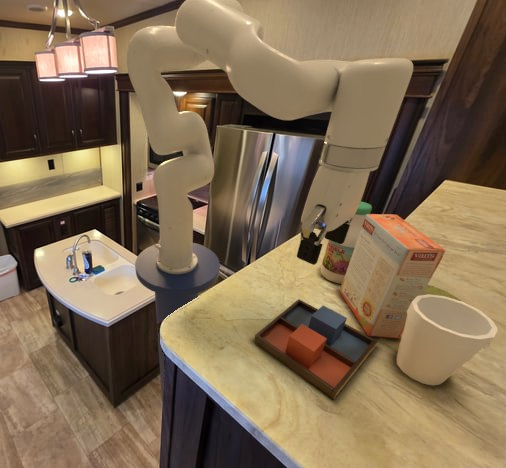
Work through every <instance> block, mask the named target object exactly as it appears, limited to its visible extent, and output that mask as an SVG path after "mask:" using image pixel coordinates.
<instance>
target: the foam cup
mask: <svg viewBox="0 0 506 468" xmlns="http://www.w3.org/2000/svg"><path fill="white" fill-rule="evenodd" d="M498 331H499V329H498V327H497V326H496V324H495V322H494V320H493V319H492V318H490V317H489V316H488V315H487V314H485V313H484V312H483V311H481V310H480V309H478V308H476V307H474V306H472V305H470V304H468V303H466V302H463V301H462V300H460V301H458V300H455V299H452V298H448V297H445V296H438V295H430V294H427V295H421V296H417V297H416V298H415V299H414V300H413V301H412V302H411V304H410V306H409V308H408V310H407V319H406V323H405V327H404V330H403V332H402V334H401V337H400V342H399V345H398V349H397V354H396V358H395V361H396V365H397V367H398V368H399V369H400V370H401V372H402V373H404V374H405V375H406V376H408V378H410V379H412V380H414V381H416V382H419V383H421V384H425V385H428V386H439V385H442V384H443V383H444V382H446V381H447V380H448V379H449V378H450V377H452V376H453V374H455V373H456V372H457V371H458V370H459V369H460V368H461V367H463V366H464V365H465V364H466V363H467V362H469V361H470V360H471V359H473V357H474V356H476V355H477V354H478V353H479V352H480V351H481V350H483V349H486V348H487V347H488V346H489V344H490V343H491V342H492V340H493V339H494V337H495V336H496V334H497V333H498Z"/></svg>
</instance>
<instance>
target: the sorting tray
mask: <svg viewBox="0 0 506 468" xmlns="http://www.w3.org/2000/svg"><path fill="white" fill-rule="evenodd" d="M318 309H319V308H316V307H315V306H312V305H311V304H309V303H308V302H305V301H303V300H301V299H299V298H298V299H297V300H296V301H295V302H294V303H292V304H291V305H290V306H288V307H287V308H286V309H285V310H284V311H282V312H281V313H280V314H279V315H277V316H276V317H275V318H274V319H273V320H271V321H269V323H267V325H265V326H264V327H263V328H262V329H260V330H259V331H258V332H257V333H255V334H254V339H253V343H255V344H256V345H258V346H259V347H260V348H261V349H263V350H264V351H265V352H267V353H268V354H270V355H271V356H273V358H275V359H277V360H278V361H280V363H282V364H284V365H285V366H287V368H289V369H290V370H292V371H293V372H295V374H298V376H300V377H302V378H303V379H304V380H306V381H308V382H309V383H310V384H312V386H313V387H316V389H318V390H319V391H321V392H322V393H324V394H325V395H327V396H328V397H329V398H331V400H335V399H336V398H337V396H338V395H339V394H340V393H341V391H342V390H343V389H344V388H345V386H347V384H348V382H350V380H351V379H352V377H354V375H355V373H356V372H357V371H358V370H359V368H360V367H361V366H362V365H363V363H364V362H365V361H366V359H367V358H368V357H369V356H370V355H371V353H372V352H373V351H374V350H375V348H376V346H377V344H378V340H377V339H375V338H373V337H372V336H368V335H367V333H366V334H365V333H363V332H361V331H360V330H358V329H356V328H354V327H352V326H351V325H348V324H347V323H345V325H344V327H343V330H342V333H341V335H340V336H339V337H338V338H337V339H336V340H335V341H334V342H333V343H332V344H331V345H328V344H327V343H325V346H324V349H323V352H322V355H321V356H320V357H319V358H318V359H317V360H316V361H315V362H314V363H313V364H312V366H311V367H310V368H307V367H306V366H305V365H303V364H302V363H300V362H299V361H297V360H296V359H294V358H293V357H292V356H290V355H289V354H287V353H286V352H285V351H286V347H287V343H288V339H289V336H290V335H291V334H292V333H293V332H294V331H295V330H296V329H297V328H299V327H300V326H301V325H302V324H303V325H305V326H307V327H308V326H309V323H310V319H311V316H312V315H313V314H314V313H315V312H316V311H317V310H318Z"/></svg>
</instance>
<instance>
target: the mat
mask: <svg viewBox="0 0 506 468" xmlns="http://www.w3.org/2000/svg"><path fill="white" fill-rule="evenodd" d="M427 294H430V295H438V296H445V297H448V298H452V299H455V300H458V301H461V299H460V298H459V297H457V296H456V295H453V294H451V293H450V292H448V291H446V290H444V289H442V288H439V287H436V286H434V285H430V284H428V285H427V287H426V289H425V291H424V293H423V295H427Z"/></svg>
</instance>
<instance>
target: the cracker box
mask: <svg viewBox="0 0 506 468" xmlns="http://www.w3.org/2000/svg"><path fill="white" fill-rule="evenodd" d="M446 251H447V250H446V249H445V248H443V247H442V246H441V245H440V244H438V243H436V242H435V241H434V240H432V239H431V238H429V236H427V235H426V234H424V233H423V232H421V231H420V230H418V229H417V228H416V227H414V226H413V225H411V224H410V223H409V222H407V221H406V220H405V219H403V218H402V217H400V216H399V215H398V214H393V213H390V214H389V213H385V214H384V213H381V214H377V213H370V214H366V217H365V220H364V223H363V226H362V228H361V231H360V234H359V237H358V240H357V243H356V246H355V249H354V251H353V254H352V257H351V260H350V263H349V266H348V269H347V271H346V274H345V277H344V280H343V283H342V284H341V285H340V289H339V293H340V294H341V296H342V297H343V299H344V301H345V302H346V303H347V306H349V308H350V310H351V311H352V313H353V314H354V317H355V318H356V320H357V321H358V323H359V324H360V325H361V327H362V329H363V331H364V332H365V333H366V335H367V336H369V337H377V338H387V339H388V338H389V339H397V340H398V339H401V337H402V334H403V330H404V327H405V323H406V319H407V310H408V308H409V306H410V304H411V302H412V301H413V300H414V299H415V298H416V297H417V296H421V295H423V293H424V291H425V289H426V287H427V285H429V284H430V281H431V280H432V278H433V276H434V274H435V272H436V271H437V268H438V267H439V265H440V263H441V261H442V259H443V258H444V255H445V254H446Z"/></svg>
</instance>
